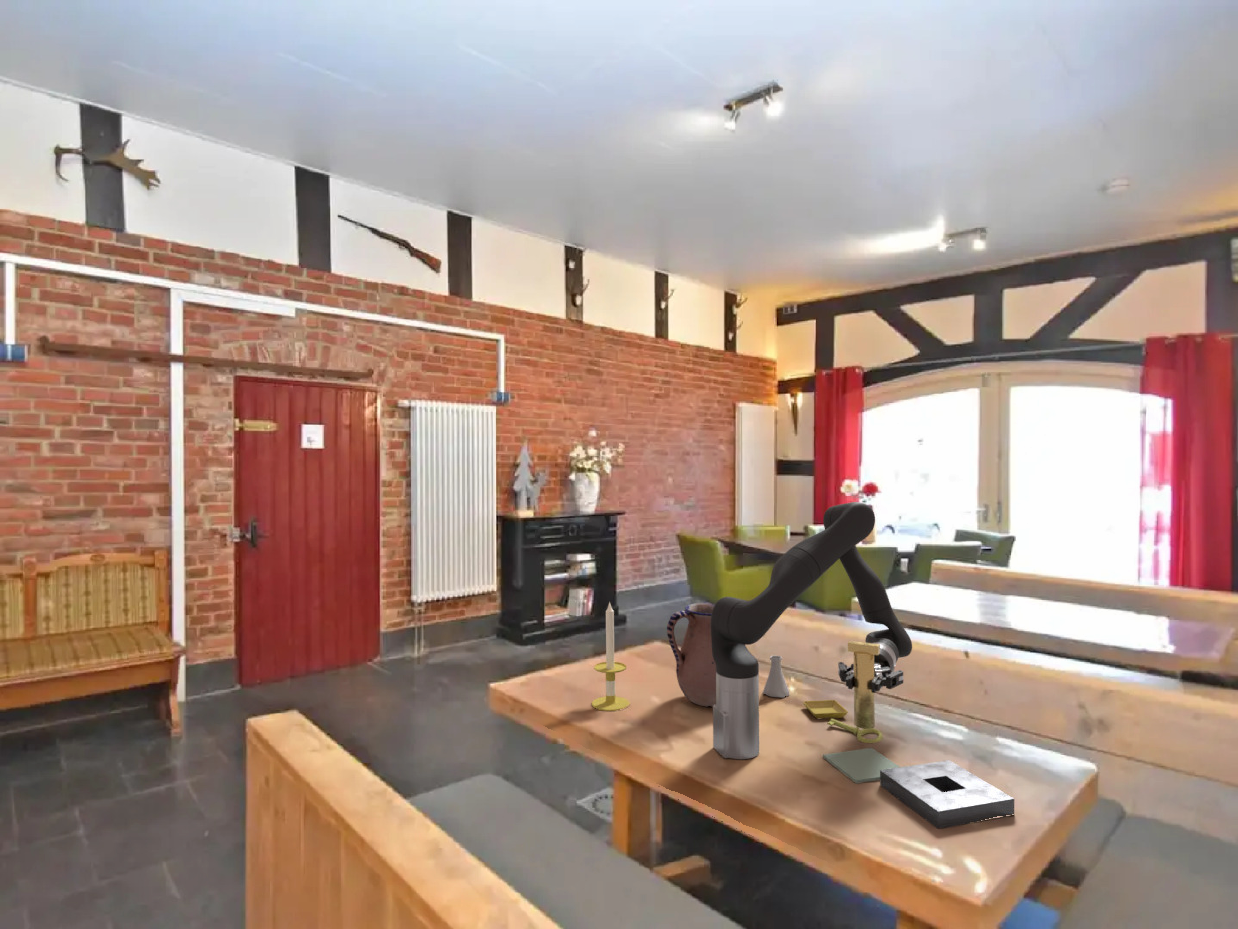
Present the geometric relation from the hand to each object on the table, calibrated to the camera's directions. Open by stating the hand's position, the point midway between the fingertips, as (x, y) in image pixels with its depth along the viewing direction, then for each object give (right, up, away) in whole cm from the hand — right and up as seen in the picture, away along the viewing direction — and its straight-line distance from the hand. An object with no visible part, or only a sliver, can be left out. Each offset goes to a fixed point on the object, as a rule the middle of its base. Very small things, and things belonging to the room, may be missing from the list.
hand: (861, 686), depth 138 cm
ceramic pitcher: (-27, -18, +40) cm, 51 cm away
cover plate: (+11, -18, -11) cm, 24 cm away
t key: (+1, -9, +3) cm, 9 cm away
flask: (-7, -17, +46) cm, 49 cm away
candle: (-52, -18, +39) cm, 67 cm away
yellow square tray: (+2, -18, +32) cm, 36 cm away
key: (+6, -18, +19) cm, 27 cm away
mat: (+1, -17, +2) cm, 18 cm away
